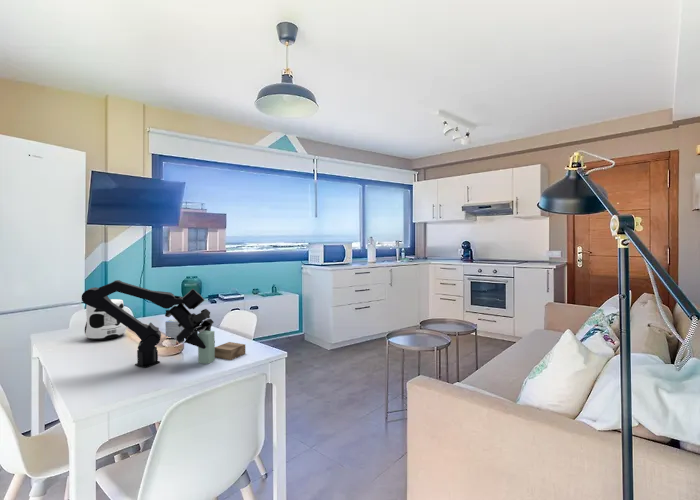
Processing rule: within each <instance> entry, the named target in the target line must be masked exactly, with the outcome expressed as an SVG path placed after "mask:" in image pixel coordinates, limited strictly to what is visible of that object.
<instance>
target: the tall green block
mask: <svg viewBox="0 0 700 500" xmlns="http://www.w3.org/2000/svg"><path fill="white" fill-rule="evenodd" d="M198 337H199V338H200V339H201V341H202V342H203V343H204V345H205V346H206V348H205V349H202V348H200V347H197V349H198V350H197V353H198V354H197V355H198V357H197V358H198V364H204V365H206V364H207V365H208V364H211V363H212V362H214V361H216V357H215V347H216V346H215V343H216V340H215V330H211V331H202V332H200V333H199V332H198Z"/></svg>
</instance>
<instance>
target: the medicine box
mask: <svg viewBox="0 0 700 500" xmlns="http://www.w3.org/2000/svg"><path fill="white" fill-rule="evenodd" d="M164 324H165V337H166V336H168V337H171V338H174V339H175V340H176V337H177V335H178V334H179V333H180V332H181V331H182V330H183V329H184V328H183V327H182V326H181V327H179V326H178V325H179V323H178V322H177V320H176V319H168V320H166V321H165V323H164Z"/></svg>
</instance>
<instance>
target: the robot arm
mask: <svg viewBox="0 0 700 500" xmlns="http://www.w3.org/2000/svg"><path fill="white" fill-rule="evenodd" d="M116 292H117V293H120V294H124V295H128V296H131V297H132V296H133V297H136V298H139V299H143V300H146V301H149V302H151V303H153V304H154V305H156V306H159V307H161V308H163V309H165V314H164V316H165V317H166V318H170V317H171V316H172V317H173V318H174V320H177V322H178V323H179V325H178V326H179V327H181V326H182V327H183V328H184V329H183V330H182V331H181V332H180V333H179V334H178V335H177V337H176V339H175V340H176V342H178V344H181V343H183V344H189V345H192V346H194V347H197V348H198V347H200V348H202V349H205V348H206V346H205V345H204V343H203V342H202V341H201V339H200V338H199V337H198V333H200V332H202V331H212V329H211V328H212V326H213V325H214V323H215V321H213V320H212V319H211V311H209V309H207V308H204V309H202V310H200V312H199V313H191V311H189V310H195V309H196V308H198V307H199V305H202V303H203V302H204V301H205V299H204V297H203V296H202V294H200V293H199V292H197V290H195V289H194V288H192V289H190V291H188V292H187V293H185V295H184V296H180V295H174V293H172V292H169V291H161V290H160V291H159V290H152V289H148V288H146V287H145V288H144V287H141V286H138V285H134V284H131V283H128V282H124V281H122V280H120V279H119V280H117V279H116V280H114V281H112V282H110V283H107V284H104V285H102V286H100V287H94V286H93V287H90V288H88V289H87V290H85V291H84V292H83V293H82V294H81V301H82V303H84V304H85V305H89V306H91V307H93V308H96V309H99V310H102V311H104V312H106V313H107V314H109V315H110V316H112V317H113V318H114V319H116V320H117V321H119V322H120V323H122V324H123V325H125V326H126V328H128V329H129V330H131V331H132V332H133V333H134V334H135V335H137V337H138V338H139V340H140V341H139V342H138V346H137V351H136V357H137V359H136V360H137V362H136V363H135V364H134V366H137V367H141V368H149V367H151V366H155V365H157V364H159V363H161V361H160V360H159V351H158V347H157V345H158V344H159V343H160V342H161V337H162V332H161V331H160V330H159V329H160V328H159V327H158V326H155V325H154V324H153V323H152V322H149V324H145V323H143V322H141V321H140V320H138V319H137V318H136V317H135V316H133V315H131V314H130V313H129V312H128V311H126V310H125V309H124V310H123V309H121V308H120V307H119V306H117V305H116V304H114V303H113V302H112V301H111V300H110V297H109V296H110V295H112V294H115V293H116ZM186 307H187V308H186Z"/></svg>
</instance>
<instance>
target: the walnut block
mask: <svg viewBox="0 0 700 500" xmlns="http://www.w3.org/2000/svg"><path fill="white" fill-rule="evenodd" d="M245 354H246V344H244V343H238V342H232V341H227V342H225V343H223V344H219V345H217V346H215V358H218V359H224V360H229V361H231V360H234V359H236V358H239V357H241V356H243V355H245ZM238 356H239V357H238Z"/></svg>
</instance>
